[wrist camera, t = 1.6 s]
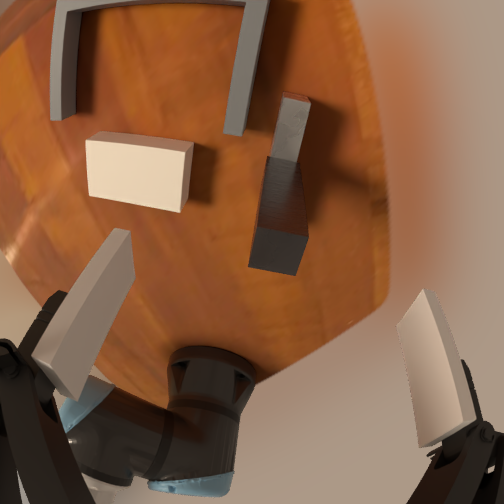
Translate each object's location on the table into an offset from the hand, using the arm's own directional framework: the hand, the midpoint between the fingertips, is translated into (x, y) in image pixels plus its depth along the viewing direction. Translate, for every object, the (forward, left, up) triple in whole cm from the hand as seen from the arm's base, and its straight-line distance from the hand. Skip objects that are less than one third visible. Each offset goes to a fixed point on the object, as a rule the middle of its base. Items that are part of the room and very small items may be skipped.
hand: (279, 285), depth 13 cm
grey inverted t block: (0, 0, -17) cm, 17 cm away
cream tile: (-3, +13, -17) cm, 22 cm away
